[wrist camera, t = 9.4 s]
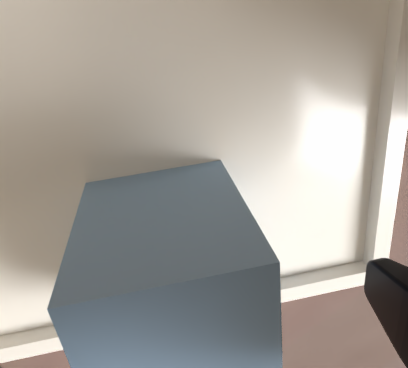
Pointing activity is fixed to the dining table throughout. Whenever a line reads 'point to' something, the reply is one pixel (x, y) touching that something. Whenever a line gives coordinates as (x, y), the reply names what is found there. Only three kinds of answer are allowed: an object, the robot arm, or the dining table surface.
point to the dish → (200, 128)
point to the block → (168, 276)
